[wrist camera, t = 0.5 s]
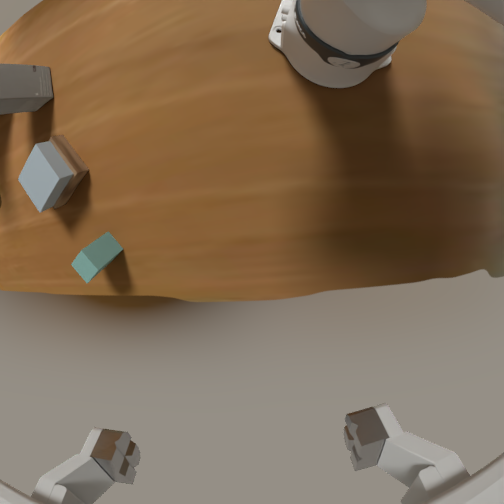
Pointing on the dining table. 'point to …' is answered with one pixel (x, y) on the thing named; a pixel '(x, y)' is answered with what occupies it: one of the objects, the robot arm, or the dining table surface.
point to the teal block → (96, 256)
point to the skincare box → (24, 88)
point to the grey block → (44, 175)
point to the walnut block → (73, 163)
